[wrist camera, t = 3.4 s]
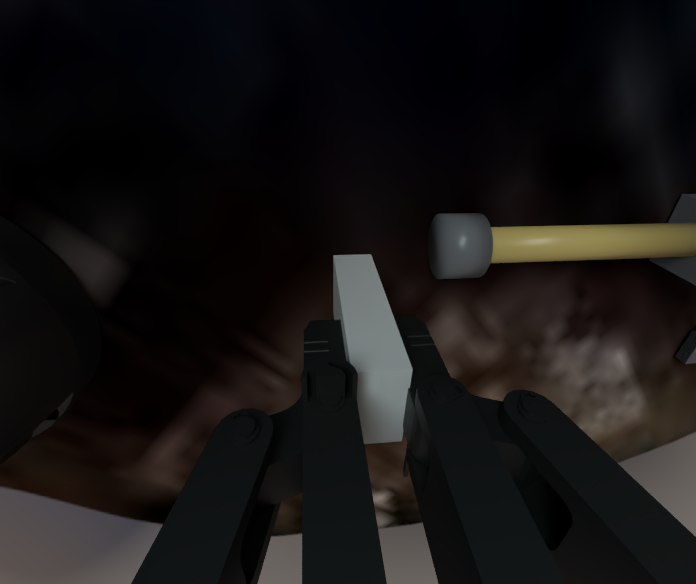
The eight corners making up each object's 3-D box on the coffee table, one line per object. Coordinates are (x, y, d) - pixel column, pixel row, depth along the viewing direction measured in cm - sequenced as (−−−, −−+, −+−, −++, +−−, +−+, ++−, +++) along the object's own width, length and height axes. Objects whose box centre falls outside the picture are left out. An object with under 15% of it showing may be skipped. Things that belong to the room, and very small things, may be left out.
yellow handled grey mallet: (423, 267, 20) (464, 333, 15) (434, 197, 18) (485, 246, 13) (721, 257, 22) (845, 312, 17) (762, 193, 20) (916, 234, 15)
